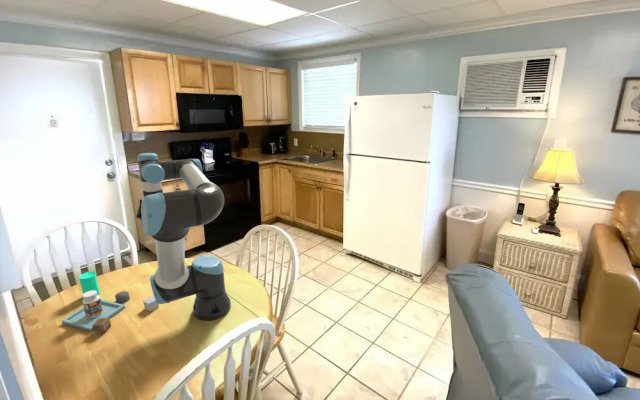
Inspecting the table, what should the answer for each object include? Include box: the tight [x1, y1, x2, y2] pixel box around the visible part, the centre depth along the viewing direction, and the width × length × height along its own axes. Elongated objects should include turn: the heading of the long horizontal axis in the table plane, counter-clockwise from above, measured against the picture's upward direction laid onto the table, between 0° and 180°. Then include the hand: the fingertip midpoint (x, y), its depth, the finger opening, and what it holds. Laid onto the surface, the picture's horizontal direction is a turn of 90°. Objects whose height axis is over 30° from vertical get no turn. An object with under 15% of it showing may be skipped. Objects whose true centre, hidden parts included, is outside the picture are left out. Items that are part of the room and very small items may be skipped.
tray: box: [61, 298, 126, 332], centre depth 127 cm, size 15×15×2 cm
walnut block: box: [92, 318, 112, 335], centre depth 119 cm, size 4×4×4 cm
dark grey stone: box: [114, 290, 131, 304], centre depth 137 cm, size 5×5×3 cm
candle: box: [78, 271, 101, 297], centre depth 138 cm, size 6×6×12 cm
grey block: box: [143, 295, 160, 313], centre depth 132 cm, size 4×4×4 cm
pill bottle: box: [82, 290, 103, 318], centre depth 125 cm, size 6×6×10 cm
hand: (159, 235), depth 139 cm, fingers open, 13 cm apart
